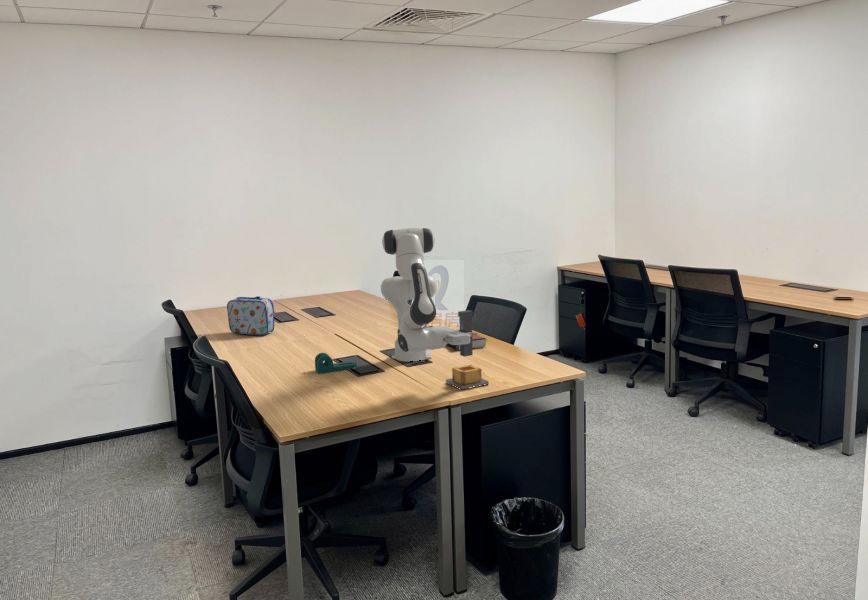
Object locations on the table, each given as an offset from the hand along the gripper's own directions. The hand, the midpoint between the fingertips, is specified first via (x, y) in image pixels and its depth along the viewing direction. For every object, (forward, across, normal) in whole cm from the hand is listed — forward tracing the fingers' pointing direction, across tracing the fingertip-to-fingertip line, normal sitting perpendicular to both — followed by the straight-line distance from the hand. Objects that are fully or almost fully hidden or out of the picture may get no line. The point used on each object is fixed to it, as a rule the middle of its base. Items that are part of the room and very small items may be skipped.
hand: (467, 333), depth 279 cm
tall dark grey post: (-1, 0, +9) cm, 9 cm away
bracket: (-37, +52, +22) cm, 68 cm away
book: (+34, +62, +22) cm, 74 cm away
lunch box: (-50, +150, +21) cm, 160 cm away
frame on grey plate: (-1, 0, +21) cm, 21 cm away
